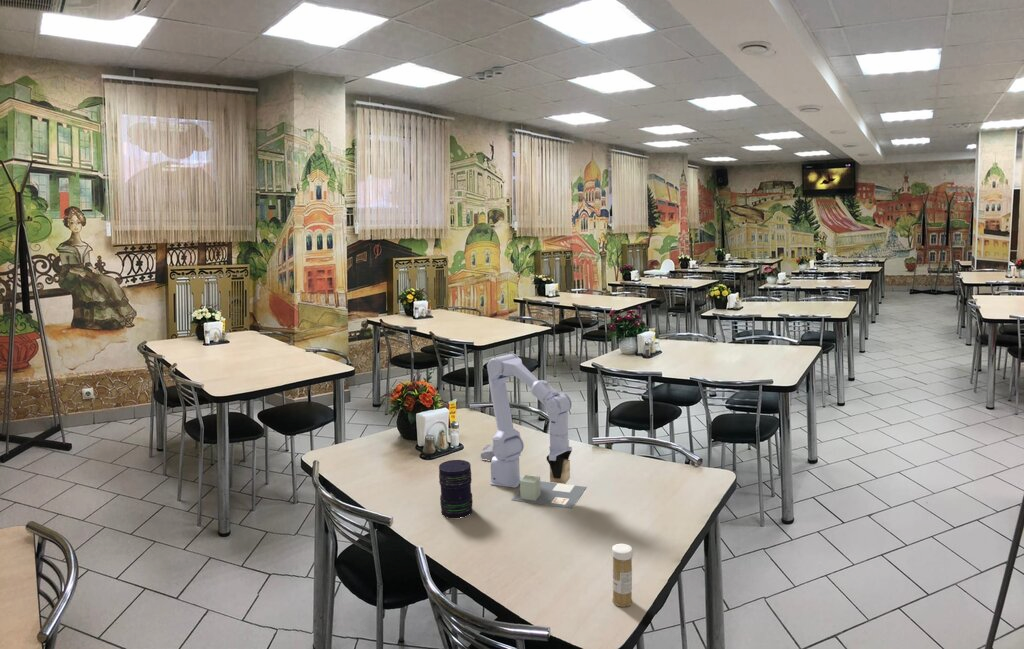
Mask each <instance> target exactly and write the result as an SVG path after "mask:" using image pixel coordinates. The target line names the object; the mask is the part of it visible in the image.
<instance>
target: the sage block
mask: <svg viewBox="0 0 1024 649" xmlns="http://www.w3.org/2000/svg"><path fill="white" fill-rule="evenodd" d="M521 478H522V480H521V481H520V484H519V485H520V489H519V491H520V494H521V499H525V500H533V501H536V499H537V498H538V497H539V496H540V495H541V493H540V481H541V476H534V475H524V476H523V477H521Z"/></svg>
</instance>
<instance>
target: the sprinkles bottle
mask: <svg viewBox="0 0 1024 649" xmlns="http://www.w3.org/2000/svg"><path fill="white" fill-rule="evenodd" d="M611 547H612V550H611V555H612V603H613V604H614V605H615V606H616V607H620V608H622V607H623V608H626V606H627V607H630V606H631V605H632V604H633V599H632V598H633V597H632V595H633V594H632V590H633V565H632V561H633V560H632V559H633V548H632V546H631V545H629V544H626V543H617V544H614V545H612V546H611ZM629 605H630V606H629Z"/></svg>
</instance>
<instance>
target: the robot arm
mask: <svg viewBox="0 0 1024 649" xmlns="http://www.w3.org/2000/svg"><path fill="white" fill-rule="evenodd" d="M486 368H487V375H488V384H489V390H490V395H491V401H492V406H493V412H494V419H495V422H496V424H495V425H496V430H497V431H496V433H495V434H494V435H493V437H492V444H493V453H494V455H495V456H494V457H493V458H492V461H490V481H491V482H490V483H489V484H490V485H491V486H500V487H509V488H512V489H513V488H517V487H518V486H519V485H520V481H521V480H522V478H523V477H520V476H521V471H520V457H521V453H522V452H523V451H524V448H525V444H524V441H523V438H521V434H520V431H518V430H517V429H516V428H515V427H514V425H513V424H514V423H513V419H512V412H511V407H510V401H509V397H508V396H509V395H508V390H507V384H506V383H507V381H508V380H509V379H510V377H515V378H517V379H518V380H520V381H521V382H522V383H523V384H525V385H526V386H527V387H529V388H530V390H531V391H530V392H531V394H532V395H533V396H534V397H535V398H536V399H537V400H539V401H540V402H541V403H542V404H543V405H544V408H545V411H546V413H547V418H548V420H549V444H550V445H549V446H548V447H549V454H548V455H547V456H546V461H547V463H548V464H549V468H550V467H551V470H552V474H553V477H554V478H557V479H560V478H561V473H562V466H563V462H564V460H565V459H567V460H570V456H571V453H572V451H573V447H572V446H570V439H569V414H568V413H569V411H570V410H571V409H572V407H573V406H572V400H571V397H569V395H568V394H567V393H563V392H562V393H561V392H559V391H558V390H556V389H554V387H552V386H551V385H550V384H549V382H548V381H547V380H543V379H541V380H539V379H538V378H537V377H536V376H535V375H534V374H533V373H532V372H531V371H530V370H529V369H528V368H527V367H526V366H525V365H524V364H523V361H522V358H520V357H519V356H518V355H517V354H516V353H509V354H505V355H501V356H497V357H492V358H491V359H489V360H488V363H487V364H486Z"/></svg>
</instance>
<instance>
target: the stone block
mask: <svg viewBox="0 0 1024 649" xmlns="http://www.w3.org/2000/svg"><path fill="white" fill-rule="evenodd" d="M494 456H495V455H494V453H493V443H491V444H486V445H485V447H483V448H482V449H481V451H480V459H481V458H482V459H487V460H492V458H493V457H494ZM482 459H481V460H482Z"/></svg>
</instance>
